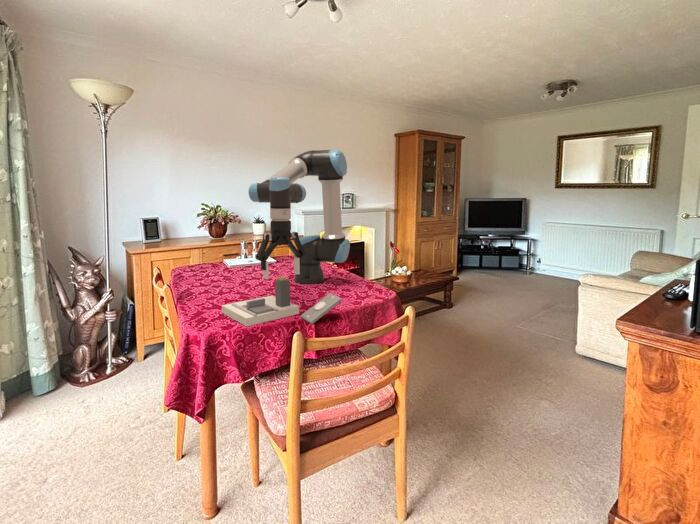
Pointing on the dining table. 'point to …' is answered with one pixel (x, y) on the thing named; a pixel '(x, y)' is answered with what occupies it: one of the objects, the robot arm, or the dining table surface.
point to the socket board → (249, 318)
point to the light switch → (321, 308)
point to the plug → (282, 291)
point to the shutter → (258, 306)
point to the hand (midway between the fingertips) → (281, 276)
